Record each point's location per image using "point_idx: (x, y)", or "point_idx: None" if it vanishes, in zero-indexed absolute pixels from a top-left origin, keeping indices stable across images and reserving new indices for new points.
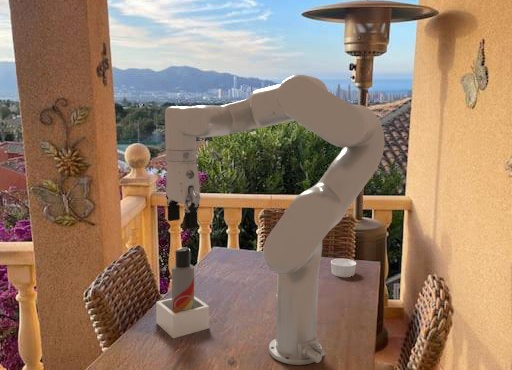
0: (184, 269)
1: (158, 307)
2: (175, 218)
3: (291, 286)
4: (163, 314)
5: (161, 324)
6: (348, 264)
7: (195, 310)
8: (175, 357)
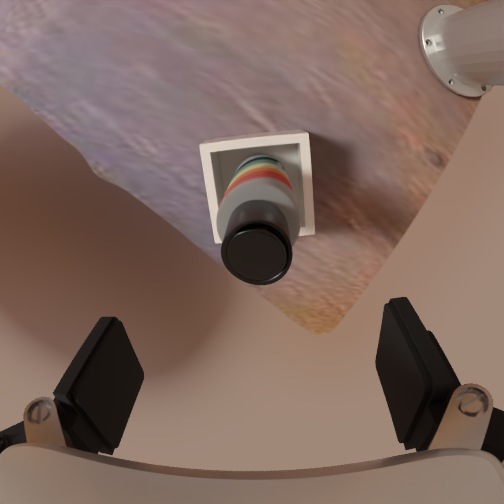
0: (293, 232)
1: None
2: (128, 351)
3: None
4: None
5: None
6: None
7: (311, 173)
8: (375, 236)
